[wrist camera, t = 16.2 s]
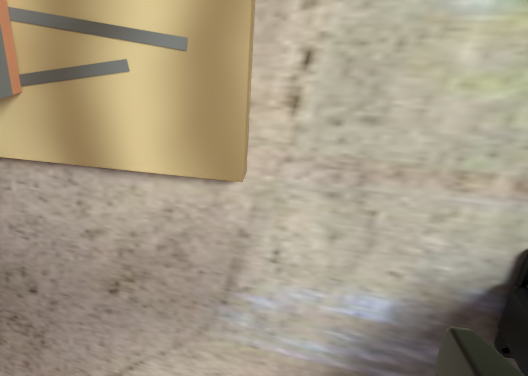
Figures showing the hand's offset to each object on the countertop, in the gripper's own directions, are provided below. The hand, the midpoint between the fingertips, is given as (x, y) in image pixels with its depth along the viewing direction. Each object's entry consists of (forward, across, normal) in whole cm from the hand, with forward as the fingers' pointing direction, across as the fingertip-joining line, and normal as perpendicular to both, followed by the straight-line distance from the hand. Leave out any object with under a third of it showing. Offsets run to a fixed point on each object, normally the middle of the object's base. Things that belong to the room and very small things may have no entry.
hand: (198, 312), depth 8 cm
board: (+13, +8, -4) cm, 16 cm away
